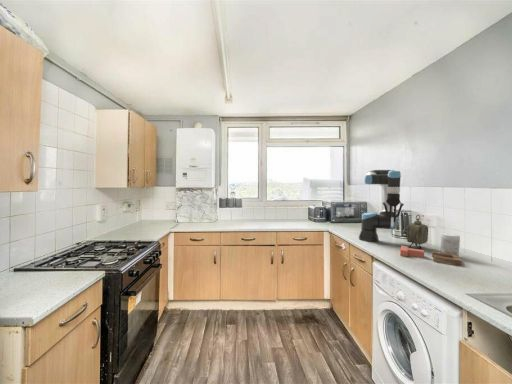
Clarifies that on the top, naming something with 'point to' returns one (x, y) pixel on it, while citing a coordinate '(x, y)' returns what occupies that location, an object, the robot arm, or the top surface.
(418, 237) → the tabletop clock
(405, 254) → the t block
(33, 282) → the top surface
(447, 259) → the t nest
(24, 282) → the top surface
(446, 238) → the supplement tub
